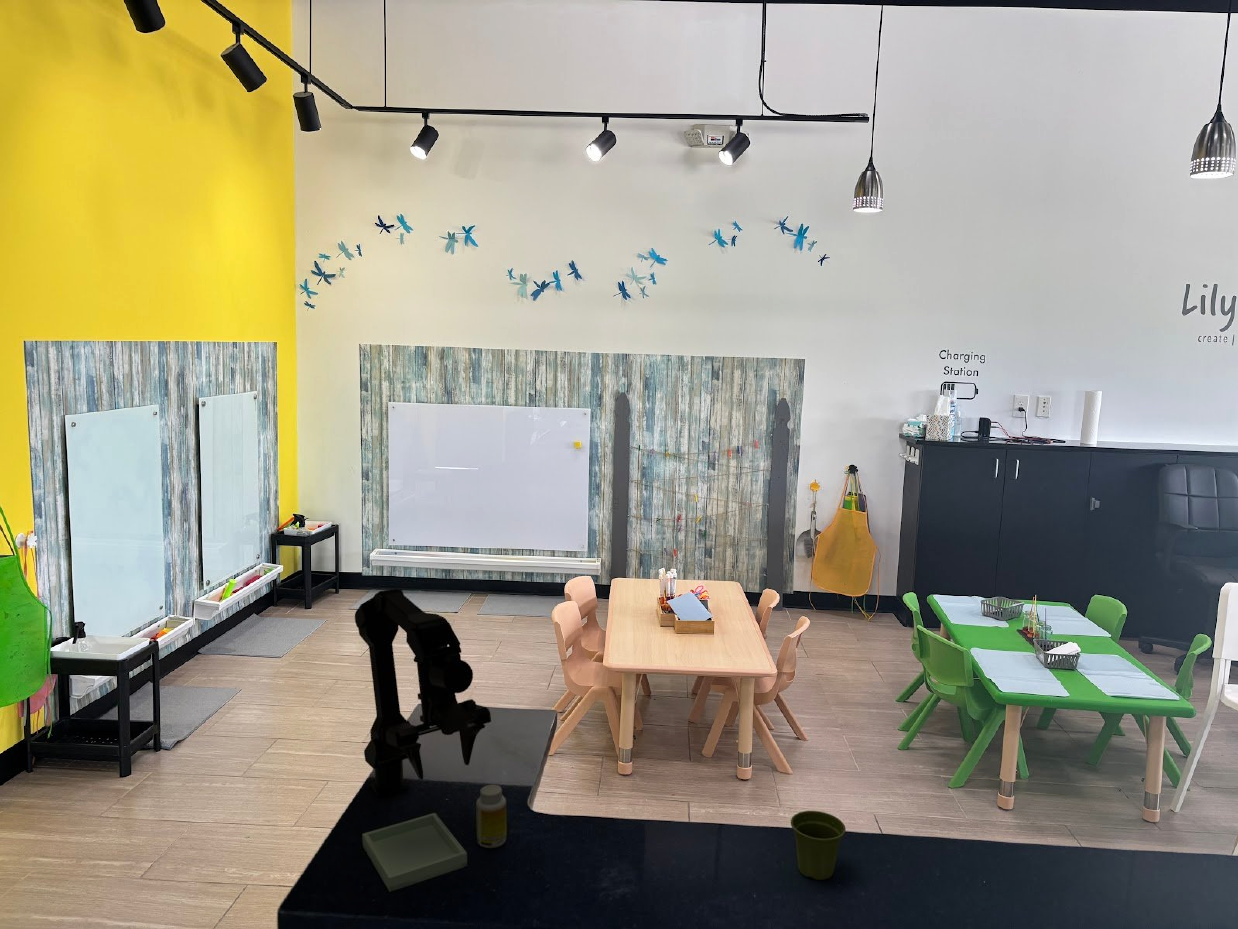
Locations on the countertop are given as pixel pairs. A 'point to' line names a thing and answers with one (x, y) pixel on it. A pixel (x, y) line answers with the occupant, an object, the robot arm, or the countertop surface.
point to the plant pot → (817, 842)
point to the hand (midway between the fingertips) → (444, 771)
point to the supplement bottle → (491, 817)
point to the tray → (413, 851)
